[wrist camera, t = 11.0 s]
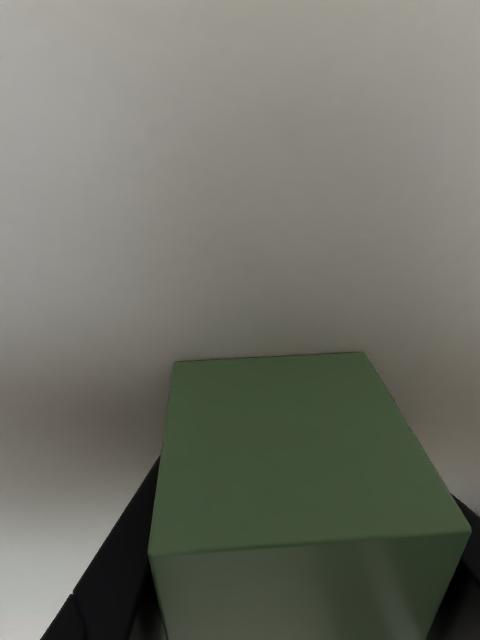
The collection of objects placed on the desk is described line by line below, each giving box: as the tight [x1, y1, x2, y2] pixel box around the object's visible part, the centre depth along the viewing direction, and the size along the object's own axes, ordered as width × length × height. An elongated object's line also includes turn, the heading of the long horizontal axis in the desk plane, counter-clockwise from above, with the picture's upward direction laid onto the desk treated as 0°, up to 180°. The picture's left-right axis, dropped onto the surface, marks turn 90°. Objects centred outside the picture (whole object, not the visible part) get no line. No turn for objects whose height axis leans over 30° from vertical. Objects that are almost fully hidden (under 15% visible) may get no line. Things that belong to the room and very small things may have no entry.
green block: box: [148, 352, 472, 640], centre depth 8 cm, size 4×4×4 cm
